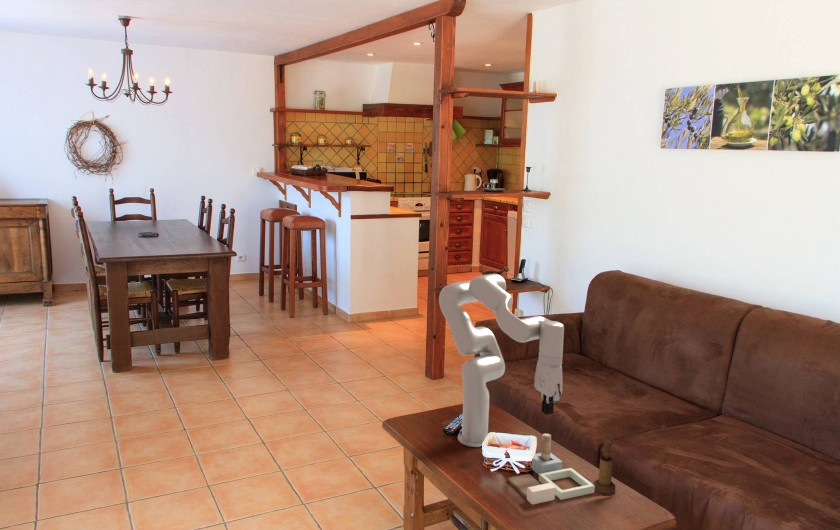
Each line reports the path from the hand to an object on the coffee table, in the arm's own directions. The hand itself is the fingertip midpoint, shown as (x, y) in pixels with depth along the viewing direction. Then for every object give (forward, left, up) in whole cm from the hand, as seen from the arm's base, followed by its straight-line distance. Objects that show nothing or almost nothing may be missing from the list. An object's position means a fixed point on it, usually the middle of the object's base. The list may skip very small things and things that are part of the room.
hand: (547, 412), depth 210 cm
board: (+8, -11, -22) cm, 26 cm away
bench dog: (+16, -12, -21) cm, 29 cm away
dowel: (0, 0, -20) cm, 20 cm away
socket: (0, 0, -21) cm, 21 cm away
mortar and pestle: (+17, +11, -21) cm, 30 cm away
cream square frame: (+12, 0, -21) cm, 24 cm away
